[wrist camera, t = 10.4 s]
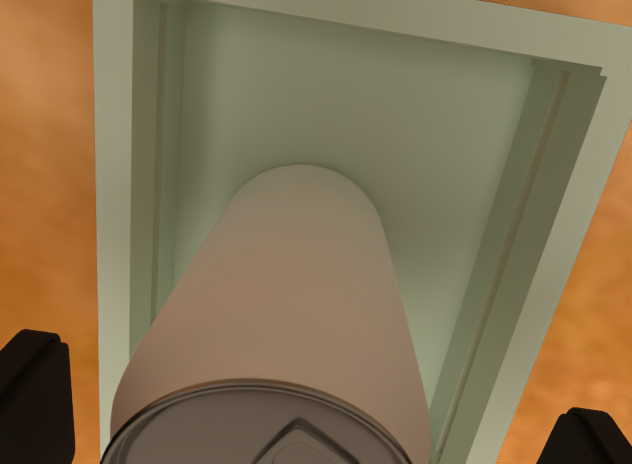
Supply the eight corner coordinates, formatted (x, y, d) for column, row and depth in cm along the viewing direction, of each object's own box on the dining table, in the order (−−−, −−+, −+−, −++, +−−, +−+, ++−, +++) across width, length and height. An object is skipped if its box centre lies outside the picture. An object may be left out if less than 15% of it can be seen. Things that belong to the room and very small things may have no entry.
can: (188, 242, 20) (-3, 514, 8) (296, 124, 18) (233, 275, 7) (306, 337, 21) (275, 674, 10) (418, 238, 19) (533, 519, 8)
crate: (165, -36, 17) (91, -66, 12) (566, 33, 17) (666, 32, 12) (151, 384, 23) (100, 482, 18) (438, 427, 24) (466, 534, 19)
